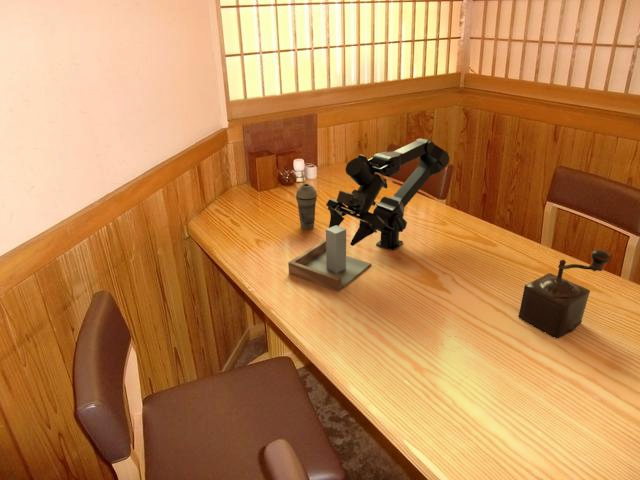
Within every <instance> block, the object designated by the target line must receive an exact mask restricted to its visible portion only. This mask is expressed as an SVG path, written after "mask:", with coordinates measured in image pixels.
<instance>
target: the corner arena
mask: <svg viewBox="0 0 640 480" xmlns="http://www.w3.org/2000/svg"><path fill="white" fill-rule="evenodd" d="M287 264H288V274H290V275H292V276H295V277H298V278H300V279H302V280H305V281H309V282H310V283H314V284H317V285H319V286H322V287H324V288H328V289H329V290H333V291H336V292H339V293H340V291H341V290H343V289H344V288H345V287H346V286H347V285H349V284H350V283H351V282H352V281H354V280H355V279H356V278H358V277H359V276H360V275H361V274H363V272H365V271H366V270H367V269H369V268H370V267H371V266H372V263H370V262H367V261H364V260H362V259H358V258H354V257H352V256H348V255H346V269H344V270H342V271H340V272H338V273H335V272H333V271H331V270H329V269H327V268H326V239H325V240H324V239H323V240H321V241H320V242H318V243H316V244H315V245H313V246H312V247H310V248H308V249H307V250H305V251H304V252H302V253H300V255H298V256H296V257H295V258H293V259H291V260H290V261H288V262H287Z"/></svg>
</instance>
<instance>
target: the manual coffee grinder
mask: <svg viewBox="0 0 640 480" xmlns="http://www.w3.org/2000/svg"><path fill="white" fill-rule="evenodd" d="M590 256H591V260H592V262H591V263H590V264H589V265H588V266H587V265H583V264H578V263H577V264H576V263H573V264H571V263H570V264H567V261H566V259H560V260H559V264H558V267H557V268H558V272H557V275H555V274H553V273H551V272H548V273H547V274H545V275H543V276H541V277H538V278H537V279H535V280H533V281H530V282H529V283H527V284H525V285H524V288H523V291H522V292H523V293H522V296H521V297H522V298H521V303H520V307H519V311H518V315H517V316H518V317H519V318H518V319H520V318H521V319H522V320H521V319H520V320H521V321H523V320H524V321H523V322H525V323H526V322H527V324H528V323H529V325H530V324H531V325H530V326H532V325H533V326H532V327H534V328H535V327H536V328H535V329H537V328H538V329H537V330H539V329H540V331H541V332H543V333H544V332H546V333H547V334H546V333H545V334H546V335H548V334H549V335H548V336H550V335H551V336H550V337H551V338H554V337H555V338H554V339H557V338H558V339H559V338H562V337H564V336H566V335H567V334H569V333H571V332H573V331H574V330H576V328H578V327H580V324H582V322H583V317H584V314H585V313H584V312H585V309H586V306H587V303H588V300H589V295H590V292H591V291H590V289H588V288H586V287H583V286H582V285H579V284H577V283H575V282H573V281H570V280H568V279H565V278H563V273H564V270H569V269H570V270H571V269H581V270H591V271H593V272H603V266H605V265H606V264H608V262H609V261H610V260H611V255H610V253H609V252H608V251H605V250H604V249H595V250H594V249H593V251H592V252H591V255H590ZM577 326H578V327H577Z"/></svg>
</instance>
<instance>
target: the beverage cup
mask: <svg viewBox="0 0 640 480" xmlns="http://www.w3.org/2000/svg"><path fill="white" fill-rule="evenodd" d="M301 178H302V184H301V185H300V186H299V187H298V188H297V190H296V194H295V199H296V202H297V208H298V218H299V223H300V228H301V229H302V230H303V231H304V230H307V231H310V230H313V229H314V228H315V219H316V218H315V216H316V204H317V197H318V193H317V190H316V189H315V187H314V186H313V185H311V184H309V183H305V177H304V171H301Z"/></svg>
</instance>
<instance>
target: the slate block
mask: <svg viewBox="0 0 640 480" xmlns="http://www.w3.org/2000/svg"><path fill="white" fill-rule="evenodd" d="M325 241H326V268H327V269H329V270H331V271H333V272H335V273H338V272H340V271H342V270H344V269H346V256H347V229H346V228H344V227H342V226H340V225H339V226H337V225H335V226H333V227H330V228H329V227H328V228H325Z"/></svg>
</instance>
